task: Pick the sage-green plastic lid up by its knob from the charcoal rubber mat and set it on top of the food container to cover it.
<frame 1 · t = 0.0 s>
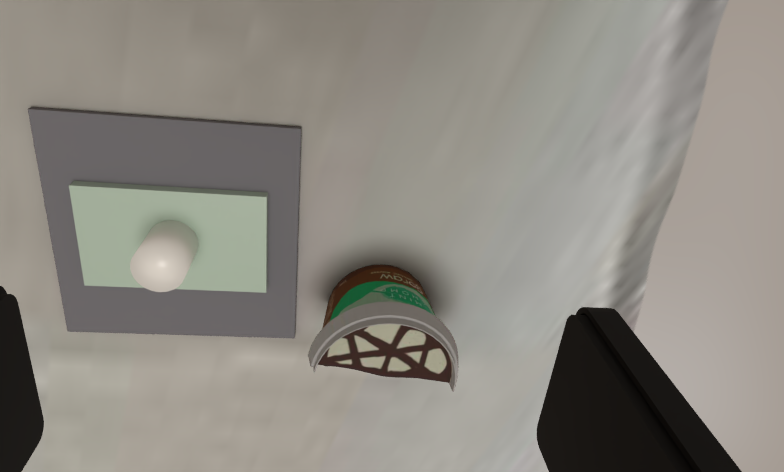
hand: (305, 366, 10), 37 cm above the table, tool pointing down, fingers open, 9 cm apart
food container: (384, 282, 52), on the table
mat: (178, 233, 48), on the table
lid: (176, 236, 48), point 1 cm above the table, touching mat
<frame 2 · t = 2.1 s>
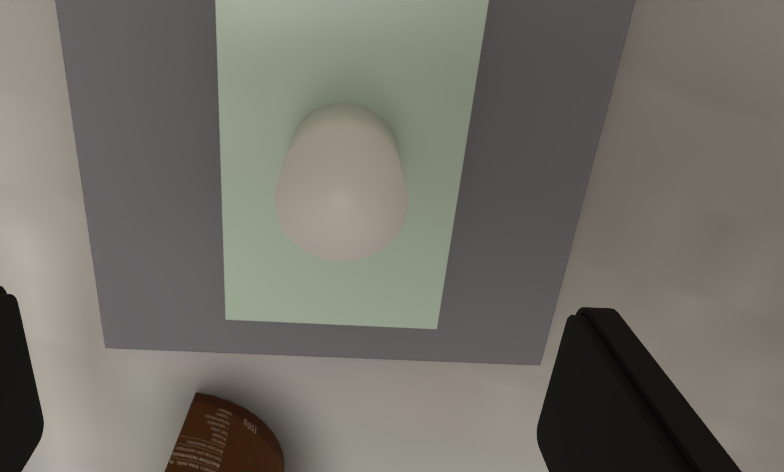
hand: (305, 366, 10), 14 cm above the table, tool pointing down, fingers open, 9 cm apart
food container: (247, 466, 30), on the table
mat: (344, 144, 23), on the table
lid: (344, 148, 22), point 1 cm above the table, touching mat
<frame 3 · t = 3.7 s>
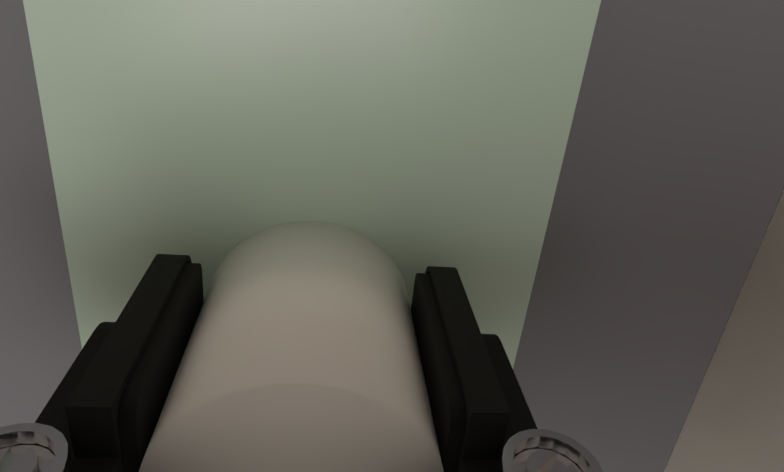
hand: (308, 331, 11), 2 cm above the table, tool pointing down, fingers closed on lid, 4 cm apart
mat: (313, 271, 13), on the table
lid: (312, 285, 12), point 1 cm above the table, touching gripper, mat
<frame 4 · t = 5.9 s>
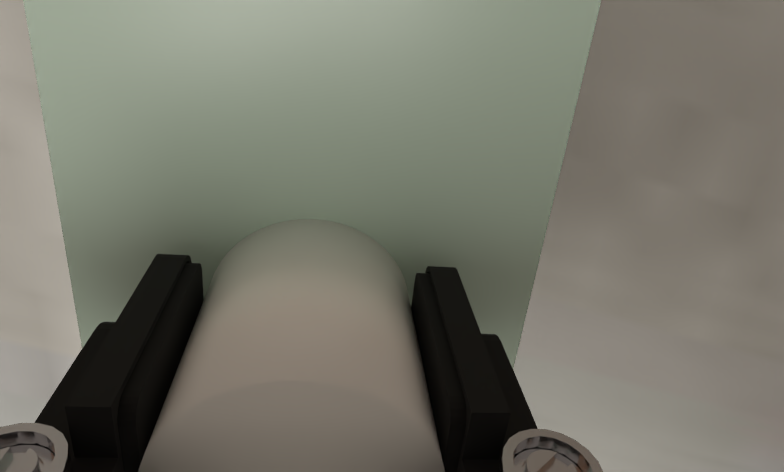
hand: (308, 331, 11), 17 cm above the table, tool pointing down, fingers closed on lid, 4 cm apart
lid: (312, 283, 12), point 16 cm above the table, touching gripper
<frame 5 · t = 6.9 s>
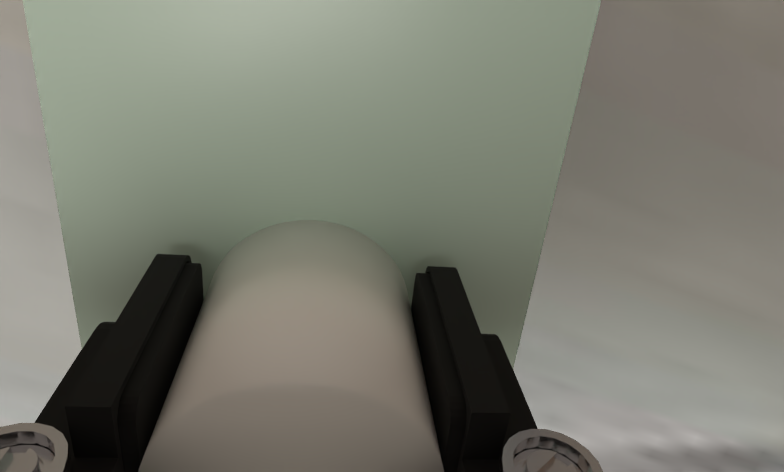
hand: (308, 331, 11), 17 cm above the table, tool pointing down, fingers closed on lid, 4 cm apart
lid: (312, 284, 12), point 15 cm above the table, touching gripper
when the fingers open (13 cm above the table, at t = 7.9 s): lid drops 1 cm, resting on food container.
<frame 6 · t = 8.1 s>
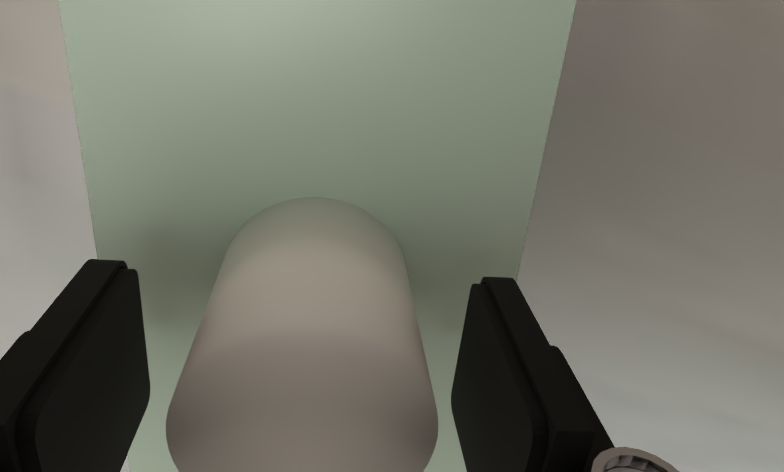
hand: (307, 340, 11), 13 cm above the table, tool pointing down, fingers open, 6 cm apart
lid: (317, 259, 13), point 10 cm above the table, touching food container
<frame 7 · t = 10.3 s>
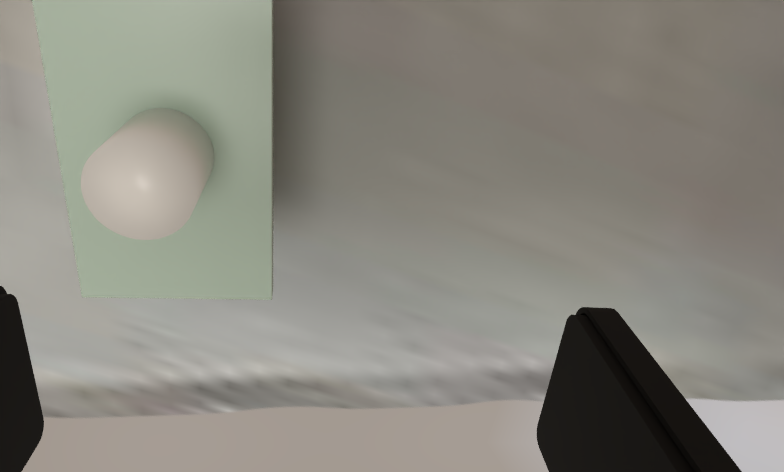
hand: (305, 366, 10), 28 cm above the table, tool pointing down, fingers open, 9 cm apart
lid: (172, 146, 26), point 10 cm above the table, touching food container
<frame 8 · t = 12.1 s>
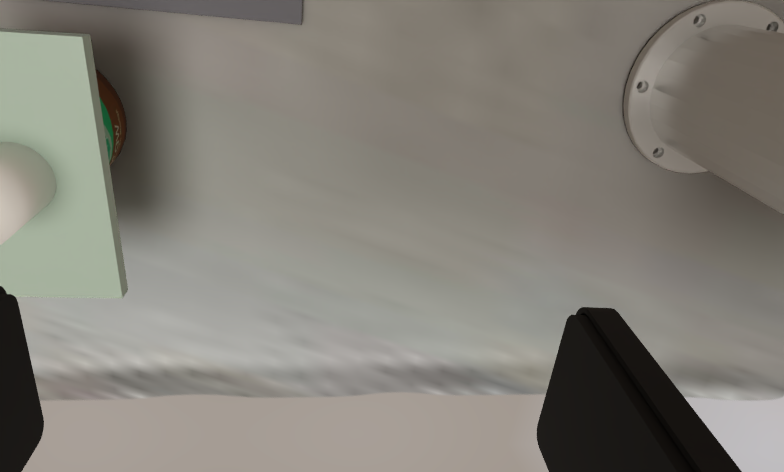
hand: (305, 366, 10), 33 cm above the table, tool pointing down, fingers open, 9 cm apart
food container: (99, 123, 41), on the table, touching lid
lid: (25, 171, 32), point 10 cm above the table, touching food container
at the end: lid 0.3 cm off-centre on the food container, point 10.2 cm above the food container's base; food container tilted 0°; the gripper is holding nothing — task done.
